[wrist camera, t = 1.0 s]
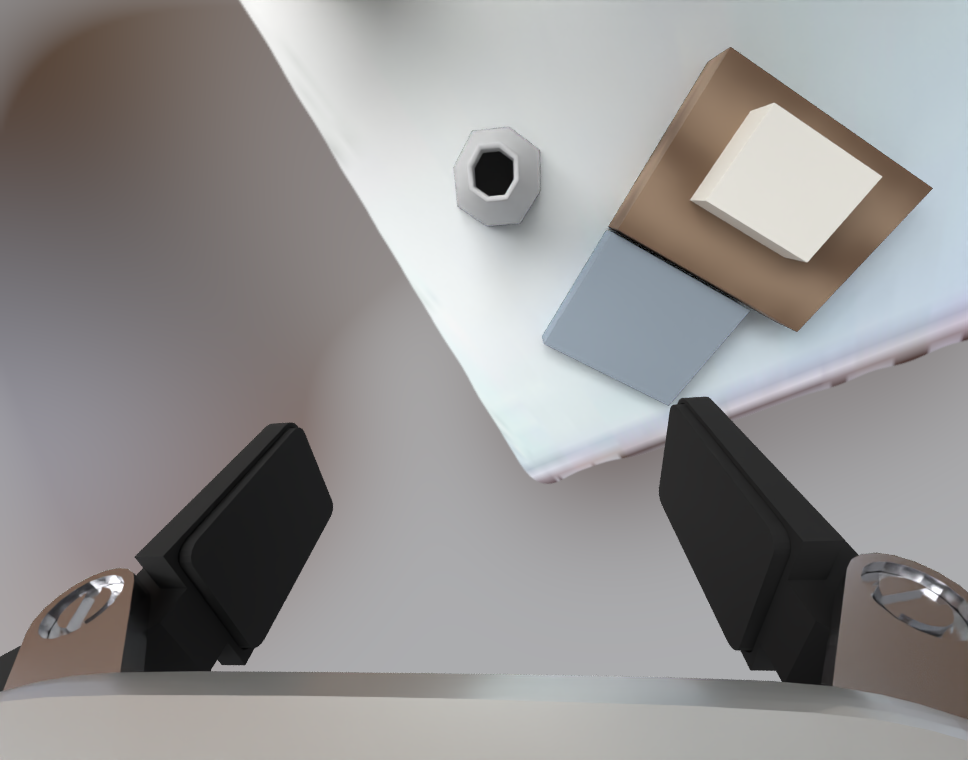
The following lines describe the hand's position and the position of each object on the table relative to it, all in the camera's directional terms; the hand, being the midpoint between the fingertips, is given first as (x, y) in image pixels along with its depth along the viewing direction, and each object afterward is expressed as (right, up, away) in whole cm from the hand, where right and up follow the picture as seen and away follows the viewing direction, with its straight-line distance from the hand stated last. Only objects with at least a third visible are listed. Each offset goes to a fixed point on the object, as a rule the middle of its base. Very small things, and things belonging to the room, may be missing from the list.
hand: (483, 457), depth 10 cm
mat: (+14, +8, +25) cm, 30 cm away
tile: (+21, +16, +17) cm, 31 cm away
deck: (+21, +16, +20) cm, 33 cm away
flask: (+1, +18, +21) cm, 28 cm away
